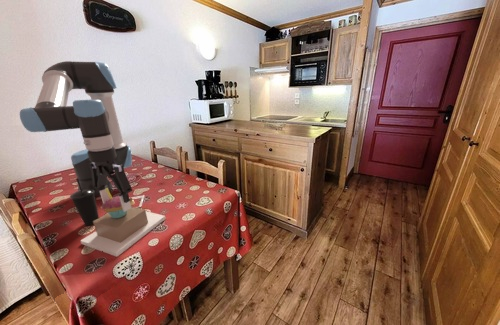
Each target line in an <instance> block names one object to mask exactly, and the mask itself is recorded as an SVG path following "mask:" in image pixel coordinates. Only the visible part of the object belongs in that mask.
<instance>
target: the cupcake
mask: <svg viewBox="0 0 500 325" xmlns="http://www.w3.org/2000/svg"><path fill="white" fill-rule="evenodd" d="M105 188H106V187H105ZM106 191H107V193H108V195H109V197H110V199H108V200H107V201H106V202H105V203H103V202H102V209H103V211H105V212H107V213H109V214H110V215H111V217H112V218H120V217H123V216H125V215H126V214H127V211H125V212H124V211H123V209H122V205H121V201H120V198H119V195H117V196H113V197H112V194H111V193H110V192H111V191H109V190H108V188H106Z"/></svg>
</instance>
